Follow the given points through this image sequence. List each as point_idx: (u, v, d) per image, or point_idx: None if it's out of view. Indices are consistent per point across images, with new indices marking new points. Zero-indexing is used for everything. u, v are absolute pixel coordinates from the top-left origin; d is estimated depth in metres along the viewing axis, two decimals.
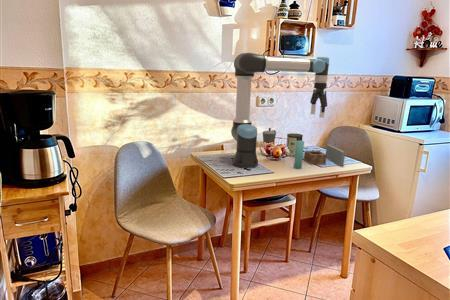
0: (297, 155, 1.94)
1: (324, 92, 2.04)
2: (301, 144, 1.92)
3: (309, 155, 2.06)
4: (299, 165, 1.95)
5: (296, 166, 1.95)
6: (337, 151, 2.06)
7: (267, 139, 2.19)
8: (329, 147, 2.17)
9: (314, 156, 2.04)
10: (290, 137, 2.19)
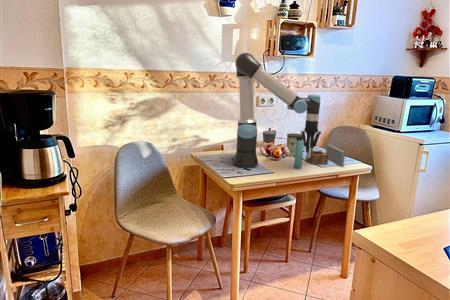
0: (297, 155, 1.94)
1: (301, 133, 2.04)
2: (301, 144, 1.92)
3: (311, 155, 2.06)
4: (299, 165, 1.95)
5: (296, 166, 1.95)
6: (337, 151, 2.06)
7: (267, 139, 2.19)
8: (329, 147, 2.17)
9: (316, 156, 2.04)
10: (290, 137, 2.19)
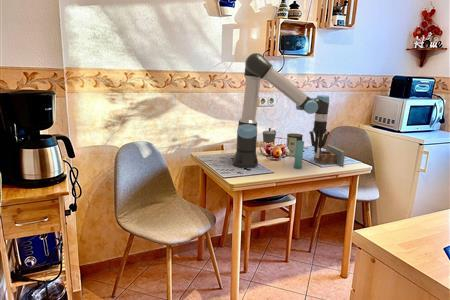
0: (297, 155, 1.94)
1: (310, 133, 2.05)
2: (301, 144, 1.92)
3: (319, 155, 2.07)
4: (299, 165, 1.95)
5: (296, 166, 1.95)
6: (337, 151, 2.06)
7: (267, 139, 2.19)
8: (329, 147, 2.17)
9: (324, 156, 2.05)
10: (290, 137, 2.19)
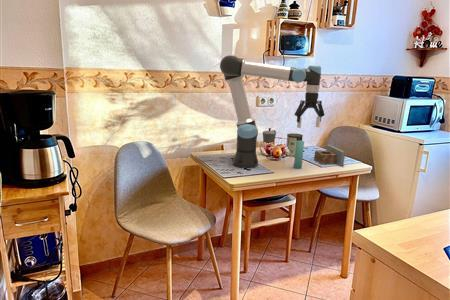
0: (297, 155, 1.94)
1: (301, 101, 1.96)
2: (301, 144, 1.92)
3: (320, 155, 2.07)
4: (299, 165, 1.95)
5: (296, 166, 1.95)
6: (337, 151, 2.06)
7: (267, 139, 2.19)
8: (329, 147, 2.17)
9: (325, 156, 2.05)
10: (290, 137, 2.19)
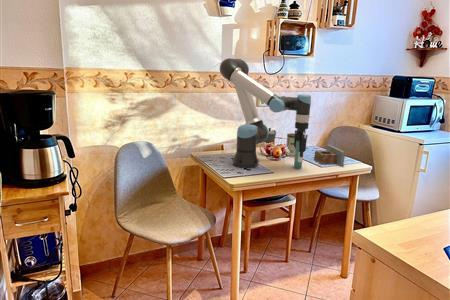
0: (297, 155, 1.94)
1: (305, 136, 1.86)
2: None
3: (320, 155, 2.07)
4: (299, 165, 1.95)
5: (296, 166, 1.95)
6: (337, 151, 2.06)
7: (267, 139, 2.19)
8: (329, 147, 2.17)
9: (325, 156, 2.05)
10: (290, 137, 2.19)
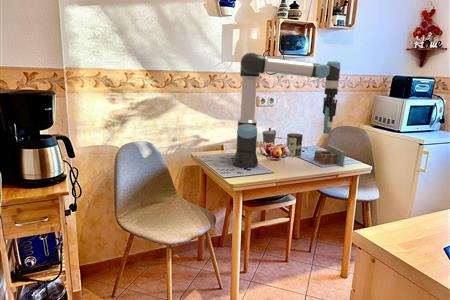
0: (327, 120, 2.02)
1: (335, 101, 1.95)
2: None
3: (320, 155, 2.07)
4: (328, 130, 2.03)
5: (326, 131, 2.04)
6: (337, 151, 2.06)
7: (267, 139, 2.19)
8: (329, 147, 2.17)
9: (325, 156, 2.05)
10: (290, 137, 2.19)
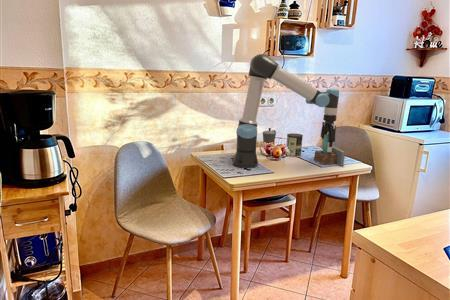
0: (325, 148, 2.08)
1: (334, 127, 2.00)
2: None
3: (320, 155, 2.07)
4: None
5: None
6: (337, 151, 2.06)
7: (267, 139, 2.19)
8: None
9: (325, 156, 2.05)
10: (290, 137, 2.19)
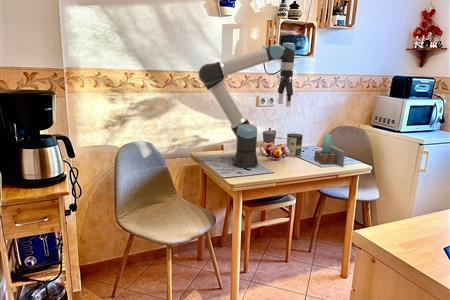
0: (325, 148, 2.08)
1: (290, 80, 1.95)
2: (329, 137, 2.06)
3: (320, 155, 2.07)
4: None
5: None
6: (337, 151, 2.06)
7: (267, 139, 2.19)
8: None
9: (325, 156, 2.05)
10: (290, 137, 2.19)
